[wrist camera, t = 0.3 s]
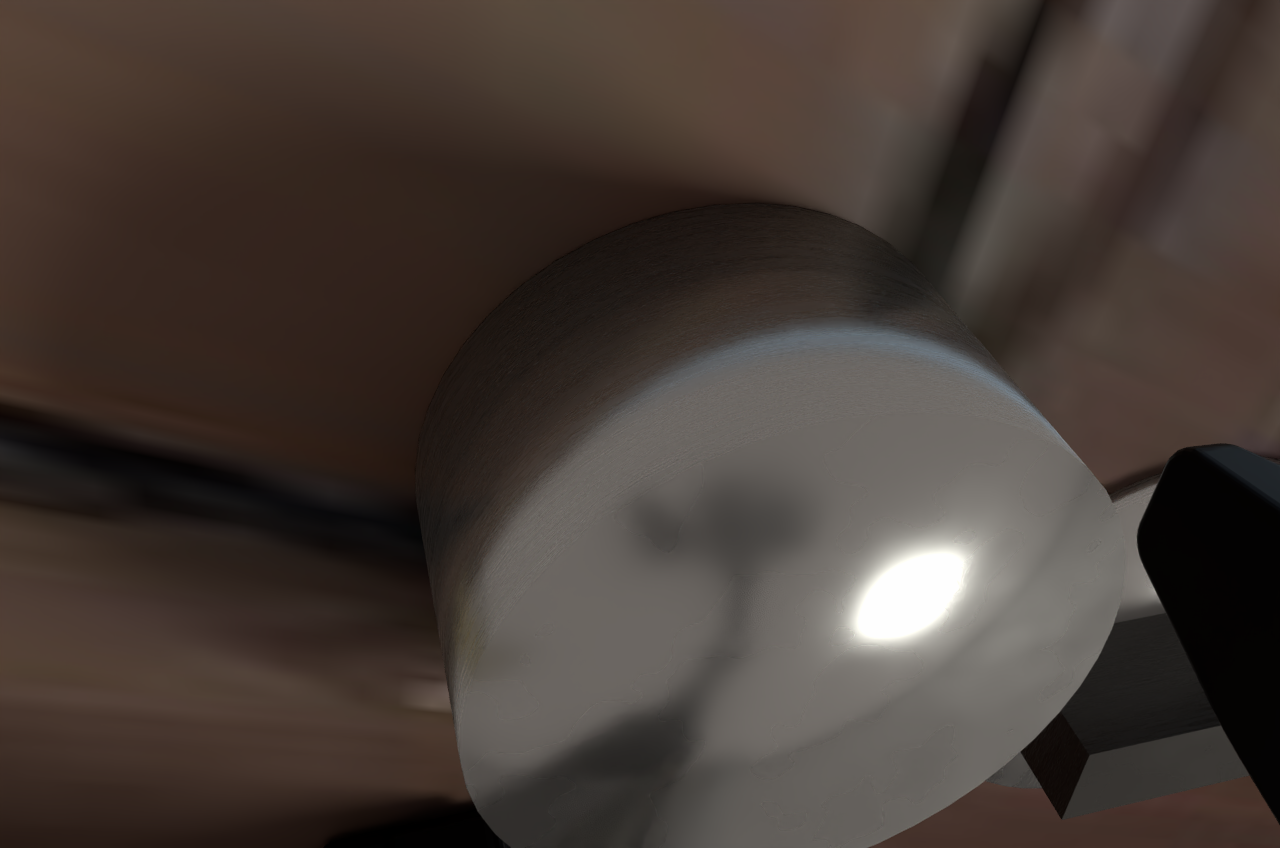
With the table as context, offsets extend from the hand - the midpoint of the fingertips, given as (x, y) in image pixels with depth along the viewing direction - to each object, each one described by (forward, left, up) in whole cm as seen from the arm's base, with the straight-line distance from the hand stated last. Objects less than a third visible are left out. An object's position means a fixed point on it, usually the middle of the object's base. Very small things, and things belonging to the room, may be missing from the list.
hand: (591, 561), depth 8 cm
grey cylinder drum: (-12, -6, -14) cm, 19 cm away
